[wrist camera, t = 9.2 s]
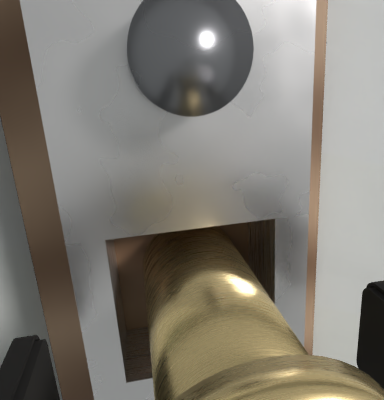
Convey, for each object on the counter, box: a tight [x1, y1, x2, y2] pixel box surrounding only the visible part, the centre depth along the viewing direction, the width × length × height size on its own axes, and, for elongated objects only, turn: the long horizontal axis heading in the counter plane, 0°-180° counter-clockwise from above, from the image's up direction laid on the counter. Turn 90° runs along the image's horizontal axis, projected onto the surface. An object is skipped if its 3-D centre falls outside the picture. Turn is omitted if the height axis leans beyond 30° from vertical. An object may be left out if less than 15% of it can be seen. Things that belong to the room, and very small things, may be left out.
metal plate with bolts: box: [20, 0, 316, 400], centre depth 13 cm, size 22×8×5 cm, turn 4°
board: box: [0, 0, 328, 400], centre depth 16 cm, size 24×12×1 cm, turn 4°
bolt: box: [143, 226, 384, 400], centre depth 11 cm, size 6×6×10 cm
